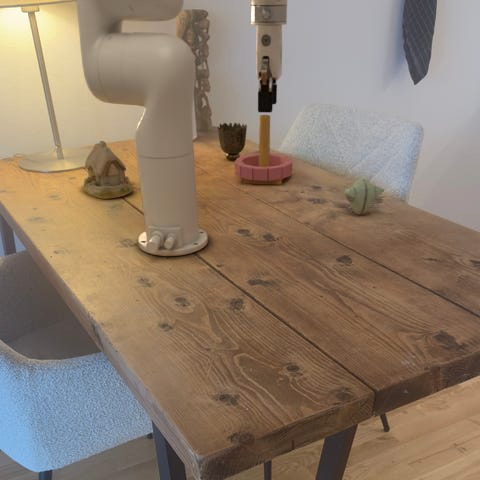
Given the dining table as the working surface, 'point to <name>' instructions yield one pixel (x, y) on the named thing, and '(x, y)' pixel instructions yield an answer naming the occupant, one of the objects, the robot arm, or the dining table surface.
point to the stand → (264, 149)
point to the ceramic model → (105, 174)
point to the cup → (232, 139)
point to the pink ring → (251, 170)
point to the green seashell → (362, 195)
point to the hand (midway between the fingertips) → (267, 107)
